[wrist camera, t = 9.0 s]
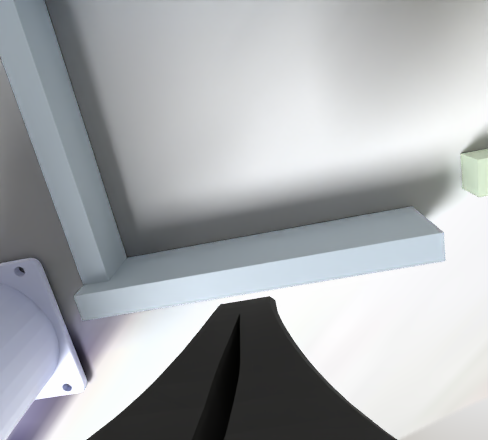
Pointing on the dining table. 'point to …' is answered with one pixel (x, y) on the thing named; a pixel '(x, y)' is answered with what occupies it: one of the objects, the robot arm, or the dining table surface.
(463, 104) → the dining table surface
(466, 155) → the pale green flat block
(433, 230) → the pale blue square frame
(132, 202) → the dining table surface
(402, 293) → the dining table surface
